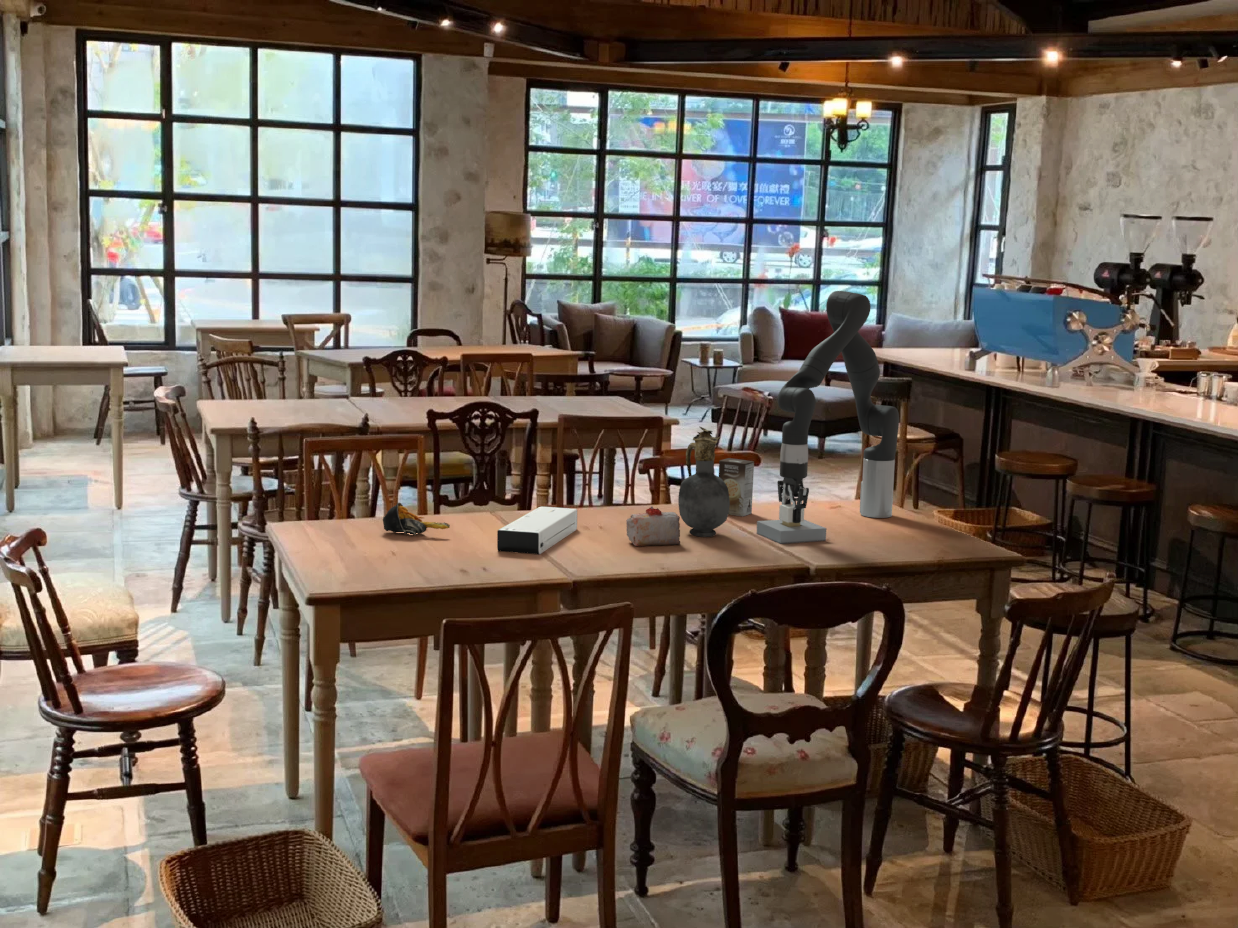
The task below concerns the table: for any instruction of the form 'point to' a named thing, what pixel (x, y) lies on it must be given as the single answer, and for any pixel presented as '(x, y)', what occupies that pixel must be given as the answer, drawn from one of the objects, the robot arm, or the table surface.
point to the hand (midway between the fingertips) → (791, 520)
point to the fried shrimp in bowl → (407, 521)
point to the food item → (654, 528)
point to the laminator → (537, 530)
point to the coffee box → (738, 484)
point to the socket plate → (791, 532)
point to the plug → (789, 515)
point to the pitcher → (703, 489)
